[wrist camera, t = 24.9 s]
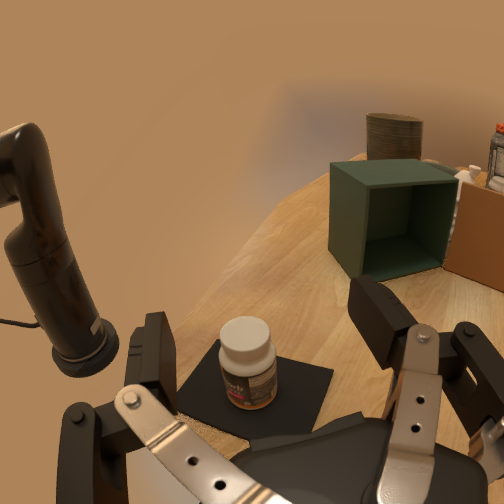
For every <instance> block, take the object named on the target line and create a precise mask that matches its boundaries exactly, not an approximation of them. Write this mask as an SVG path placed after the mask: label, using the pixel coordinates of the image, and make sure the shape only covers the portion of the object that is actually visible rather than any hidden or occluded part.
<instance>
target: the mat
mask: <svg viewBox="0 0 504 504" xmlns="http://www.w3.org/2000/svg"><path fill="white" fill-rule="evenodd" d="M220 348H221V342H220V339H217V340H216V341H215V343H214V344H213V345H212V347H211V348H210V349H209V351H208V352H207V353H206V355H205V356H204V357H203V359H202V360H201V361H200V363H199V364H198V365H197V367H196V368H195V369H194V371H193V372H192V373H191V375H190V376H189V377H188V379H187V380H186V381H185V383H184V384H183V385H182V387H181V388H180V389H179V391H178V392H177V411H179V412H181V413H183V414H185V415H187V416H189V417H192V418H194V419H196V420H198V421H201V422H203V423H205V424H208V425H210V426H212V427H215V428H217V429H220V430H222V431H225V432H227V433H230V434H232V435H235V436H238V437H240V438H243V439H246V440H248V441H249V440H253V439H258V438H263V437H268V436H273V435H277V434H309V433H311V431H312V429H313V426H314V424H315V421H316V419H317V416H318V413H319V411H320V408H321V406H322V403H323V400H324V397H325V395H326V392H327V389H328V386H329V384H330V381H331V378H332V375H333V372H334V370H333V369H328V368H324V367H319V366H315V365H311V364H307V363H303V362H298V361H294V360H291V359H287V358H283V357H279V356H276V368H277V392H276V395H275V397H274V399H273V400H272V401H271V402H270V403H269V404H268V405H266V406H265V407H263V408H259V409H255V410H247V409H243V408H239V407H238V406H236V405H235V404H233V403H232V402H231V400H230V399H229V397H228V394H227V390H226V386H225V382H224V378H223V374H222V369H221V365H220V361H219V351H220Z"/></svg>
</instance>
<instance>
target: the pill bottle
mask: <svg viewBox="0 0 504 504" xmlns="http://www.w3.org/2000/svg"><path fill="white" fill-rule="evenodd" d="M220 342H221V348H220V351H219V361H220V365H221V369H222V374H223V378H224V382H225V386H226V390H227V394H228V397H229V399H230V400H231V402H232V403H233V404H235V405H236V406H238V407H239V408H243V409H247V410H255V409H259V408H263V407H265V406H266V405H268V404H269V403H270V402H271V401H272V400H273V399H274V397H275V395H276V392H277V368H276V349H275V346H274V344H273V342H272V341H271V336H270V329H269V327H268V325H267V323H266V322H264V321H263V320H262V319H260V318H257V317H253V316H240V317H236V318H233V319H231V320H230V321H228V322H227V323H225V324H224V326H223V327H222V329H221V331H220Z"/></svg>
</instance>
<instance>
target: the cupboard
mask: <svg viewBox="0 0 504 504" xmlns="http://www.w3.org/2000/svg"><path fill="white" fill-rule="evenodd" d="M458 185H459V179H458V178H456V177H454V176H452V175H450V174H448V173H446V172H444V171H441V170H439V169H437V168H435V167H433V166H431V165H428V164H426V163H424V162H422V161H420V160H417V159H386V160H364V161H347V162H332V163H330V207H329V239H328V250H329V251H330V252H331V253H332V255H333V256H334V257H335V259H336V260H337V261H338V263H339V264H340V265H341V266H342V268H343V269H344V270H345V272H346V273H347V274H348V276H349V277H350V278H351V279H352V278H353V277H358V276H363V275H370V276H371V277H372V279H373V280H374V281H375V282H376V283H377V282H382V281H386V280H390V279H394V278H398V277H402V276H406V275H410V274H414V273H418V272H422V271H426V270H430V269H433V268H437V267H441V266H442V264H443V261H444V257H445V253H446V248H447V244H448V240H449V235H450V231H451V226H452V221H453V215H454V210H455V204H456V198H457V192H458Z"/></svg>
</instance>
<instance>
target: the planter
mask: <svg viewBox="0 0 504 504" xmlns="http://www.w3.org/2000/svg"><path fill="white" fill-rule="evenodd" d="M366 126H367V127H366V128H367V129H366V130H367V160H386V159H417V160H421V150H422V138H423V120H422V119H418V118H415V117H410V116H404V115H396V114H386V113H368V114H366Z"/></svg>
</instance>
